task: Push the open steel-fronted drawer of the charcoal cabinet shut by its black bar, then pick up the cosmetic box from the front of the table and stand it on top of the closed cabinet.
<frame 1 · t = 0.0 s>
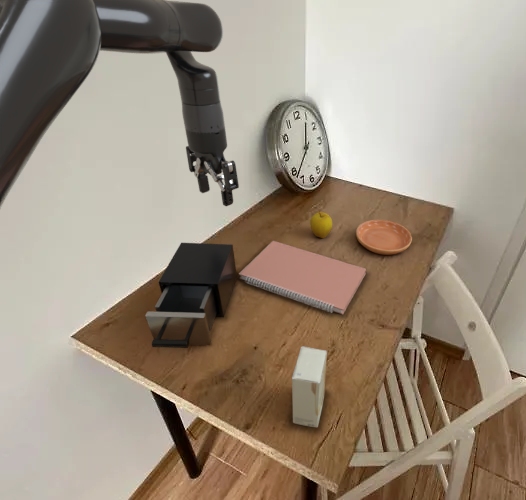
hand: (216, 198, 79), 19 cm above the table, tool pointing down, fingers open, 8 cm apart
cabinet: (205, 294, 81), on the table
drawer: (185, 315, 70), point 5 cm above the table, slide at 7.0 cm
cosmetic box: (309, 408, 61), on the table
saucer: (382, 242, 103), on the table
apple: (320, 236, 104), on the table
notebook: (303, 278, 88), on the table
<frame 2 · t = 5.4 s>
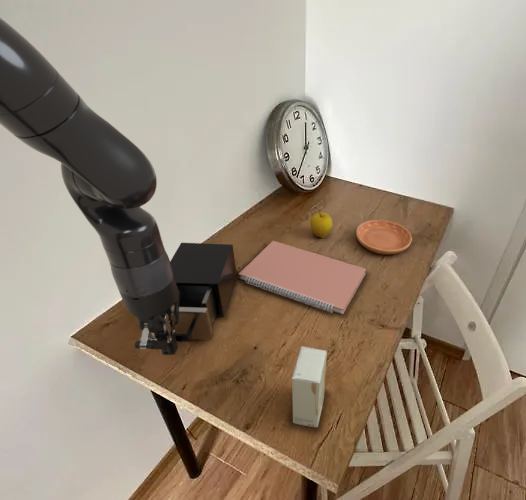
hand: (170, 351, 63), 5 cm above the table, tool pointing down, fingers closed
drawer: (188, 310, 71), point 5 cm above the table, slide at 5.7 cm, touching gripper
everything else where it was.
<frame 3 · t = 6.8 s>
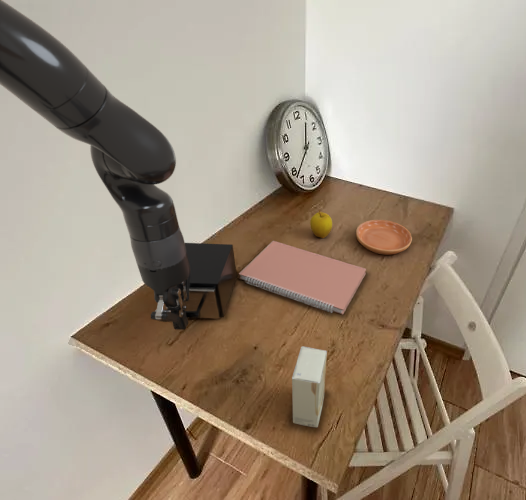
hand: (181, 326, 67), 5 cm above the table, tool pointing down, fingers closed
drawer: (196, 290, 75), point 5 cm above the table, slide at 0.0 cm, touching cabinet, gripper
everything else where it was.
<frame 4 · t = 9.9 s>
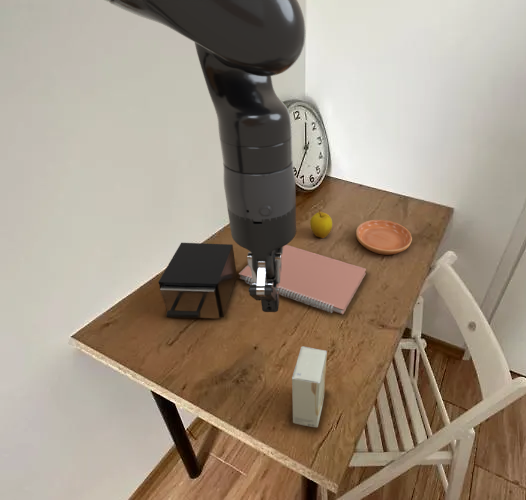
hand: (270, 308, 50), 22 cm above the table, tool pointing down, fingers closed
drawer: (196, 290, 75), point 5 cm above the table, slide at 0.0 cm
everything else where it was.
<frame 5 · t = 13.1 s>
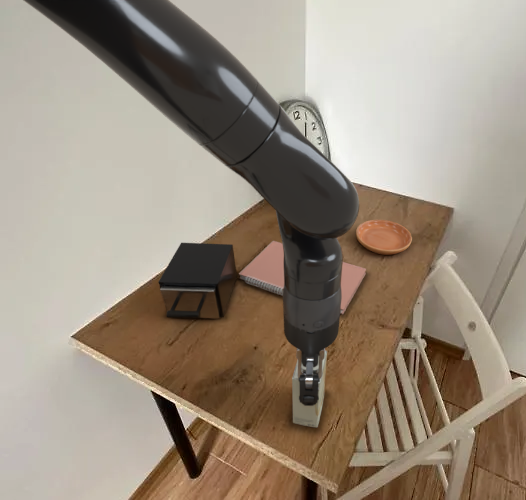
hand: (310, 381, 56), 8 cm above the table, tool pointing down, fingers closed on cosmetic box, 6 cm apart
cosmetic box: (309, 408, 61), on the table, touching gripper
everything else where it was.
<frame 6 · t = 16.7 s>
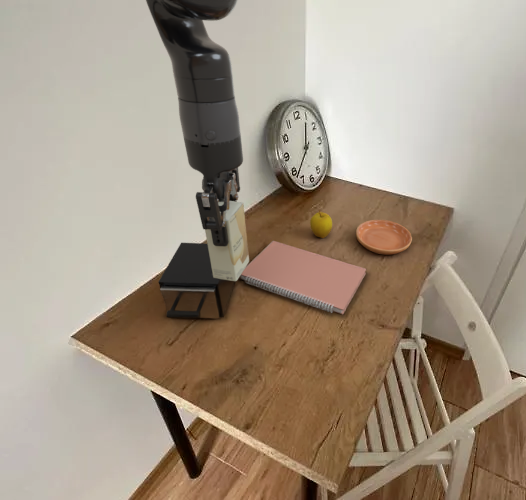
hand: (226, 231, 58), 25 cm above the table, tool pointing down, fingers closed on cosmetic box, 6 cm apart
cosmetic box: (232, 269, 63), point 17 cm above the table, touching gripper
everything else where it was.
when the fingers open (17 cm above the table, at t = 20.1 s): cosmetic box stays where it is, resting on cabinet.
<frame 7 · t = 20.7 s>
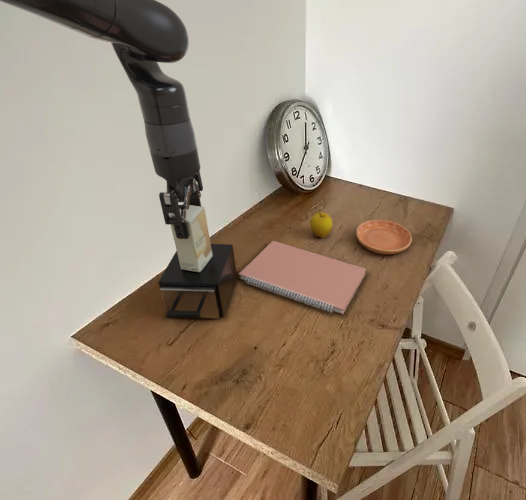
hand: (190, 225, 70), 19 cm above the table, tool pointing down, fingers open, 8 cm apart
cosmetic box: (197, 263, 75), point 9 cm above the table, touching cabinet
everything else where it was.
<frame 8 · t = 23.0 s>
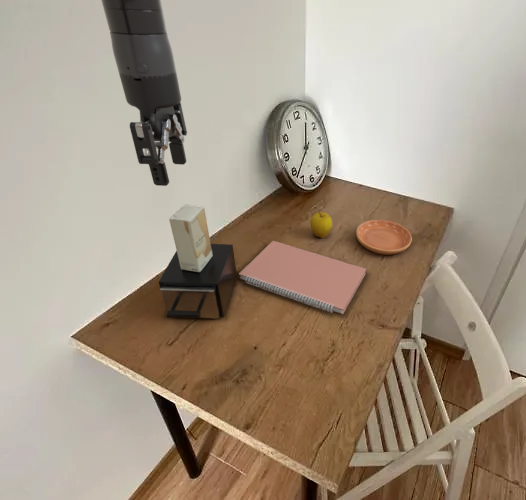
hand: (171, 173, 60), 31 cm above the table, tool pointing down, fingers open, 8 cm apart
nothing on the table moved.
at the end: drawer slide at 0.0 cm; cosmetic box inside the target area on the cabinet (0.2 cm from its centre), point 9.4 cm above the cabinet's base; cosmetic box tilted 0° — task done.
